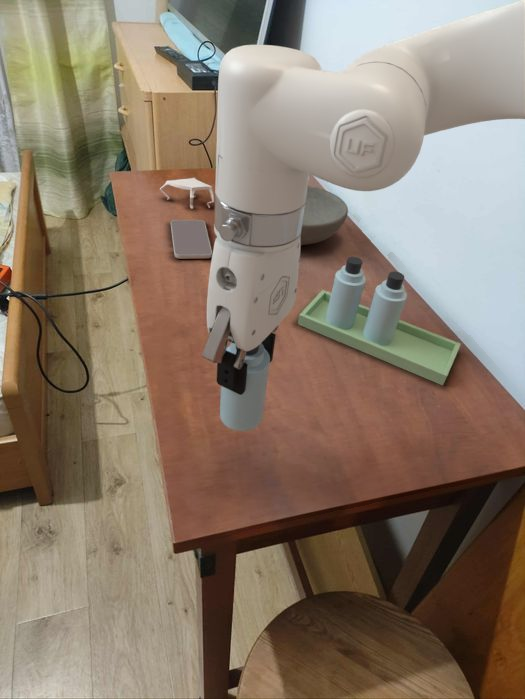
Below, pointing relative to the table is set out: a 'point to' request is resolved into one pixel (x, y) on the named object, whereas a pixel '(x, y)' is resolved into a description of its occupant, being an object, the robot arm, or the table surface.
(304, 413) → the table surface
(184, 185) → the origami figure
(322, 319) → the tray
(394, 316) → the row bottle middle
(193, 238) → the smartphone
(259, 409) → the loose bottle
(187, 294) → the table surface
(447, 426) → the table surface
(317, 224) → the bowl
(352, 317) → the row bottle back
